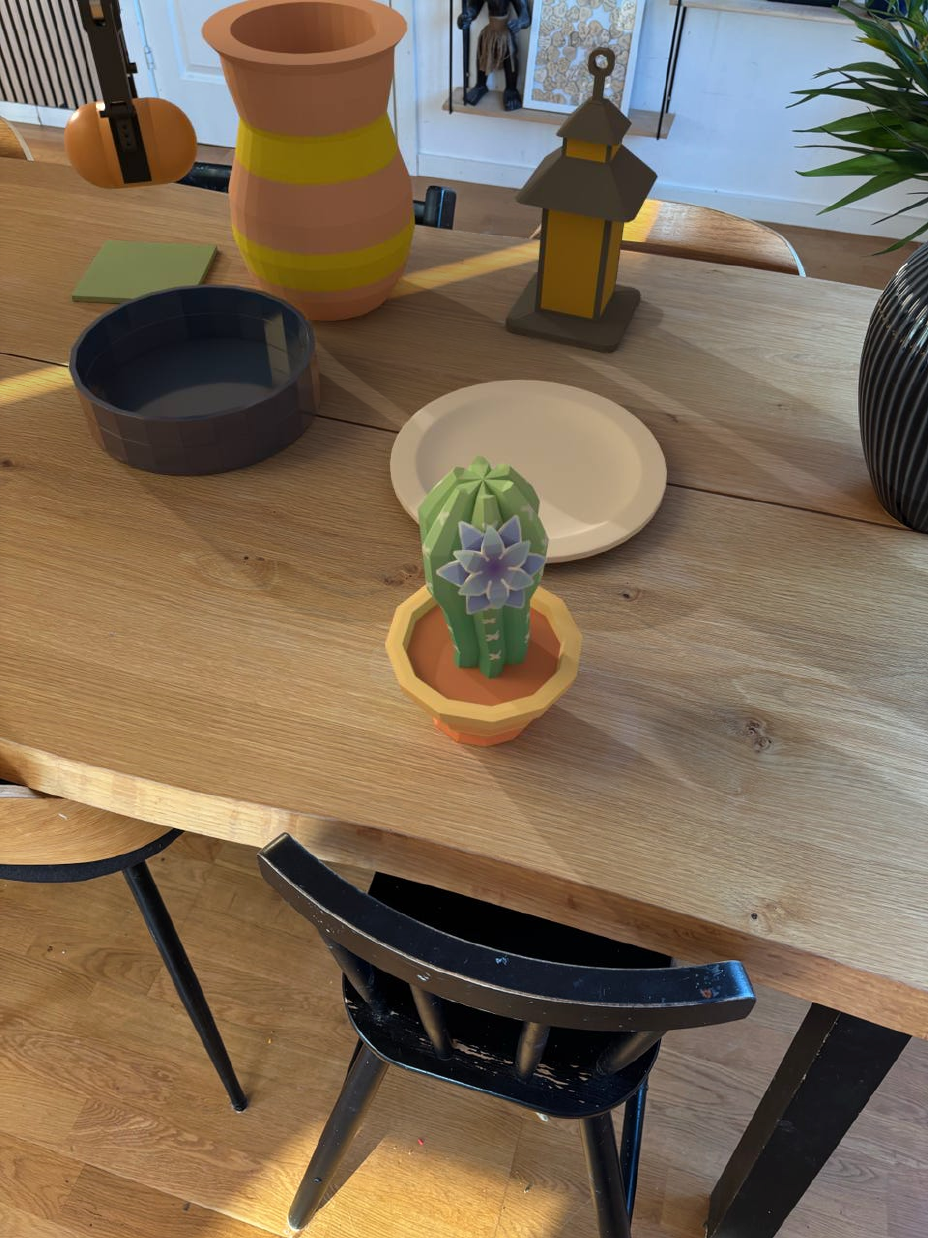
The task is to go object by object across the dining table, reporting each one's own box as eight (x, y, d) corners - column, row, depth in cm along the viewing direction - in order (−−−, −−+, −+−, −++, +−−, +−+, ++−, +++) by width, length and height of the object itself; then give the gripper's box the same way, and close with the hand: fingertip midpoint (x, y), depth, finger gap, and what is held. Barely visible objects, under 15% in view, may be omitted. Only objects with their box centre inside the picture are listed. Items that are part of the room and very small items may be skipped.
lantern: (537, 274, 128) (556, 17, 106) (642, 296, 125) (685, 35, 102) (502, 330, 119) (515, 62, 97) (614, 354, 116) (655, 83, 94)
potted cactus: (354, 736, 80) (326, 505, 61) (441, 609, 89) (439, 375, 70) (529, 810, 75) (556, 586, 57) (600, 669, 84) (644, 437, 66)
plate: (703, 554, 94) (708, 536, 92) (415, 594, 90) (415, 576, 88) (615, 384, 112) (618, 367, 110) (373, 411, 108) (371, 394, 106)
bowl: (54, 468, 101) (32, 413, 96) (127, 332, 118) (112, 278, 113) (298, 482, 100) (289, 427, 95) (336, 343, 117) (331, 289, 112)
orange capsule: (76, 206, 99) (53, 124, 93) (76, 172, 104) (53, 92, 98) (207, 193, 101) (192, 112, 95) (200, 160, 106) (186, 81, 100)
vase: (436, 257, 131) (434, 2, 108) (387, 348, 116) (373, 76, 94) (281, 235, 134) (248, -16, 112) (215, 321, 120) (161, 52, 97)
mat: (72, 301, 122) (70, 295, 122) (107, 245, 132) (105, 239, 131) (191, 307, 122) (190, 301, 121) (217, 250, 131) (216, 245, 131)
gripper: (123, -76, 78) (180, 204, 95) (114, -138, 91) (166, 118, 108) (24, -71, 77) (100, 212, 94) (30, -134, 90) (96, 124, 107)
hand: (135, 161), depth 101 cm, fingers closed on orange capsule, 8 cm apart
